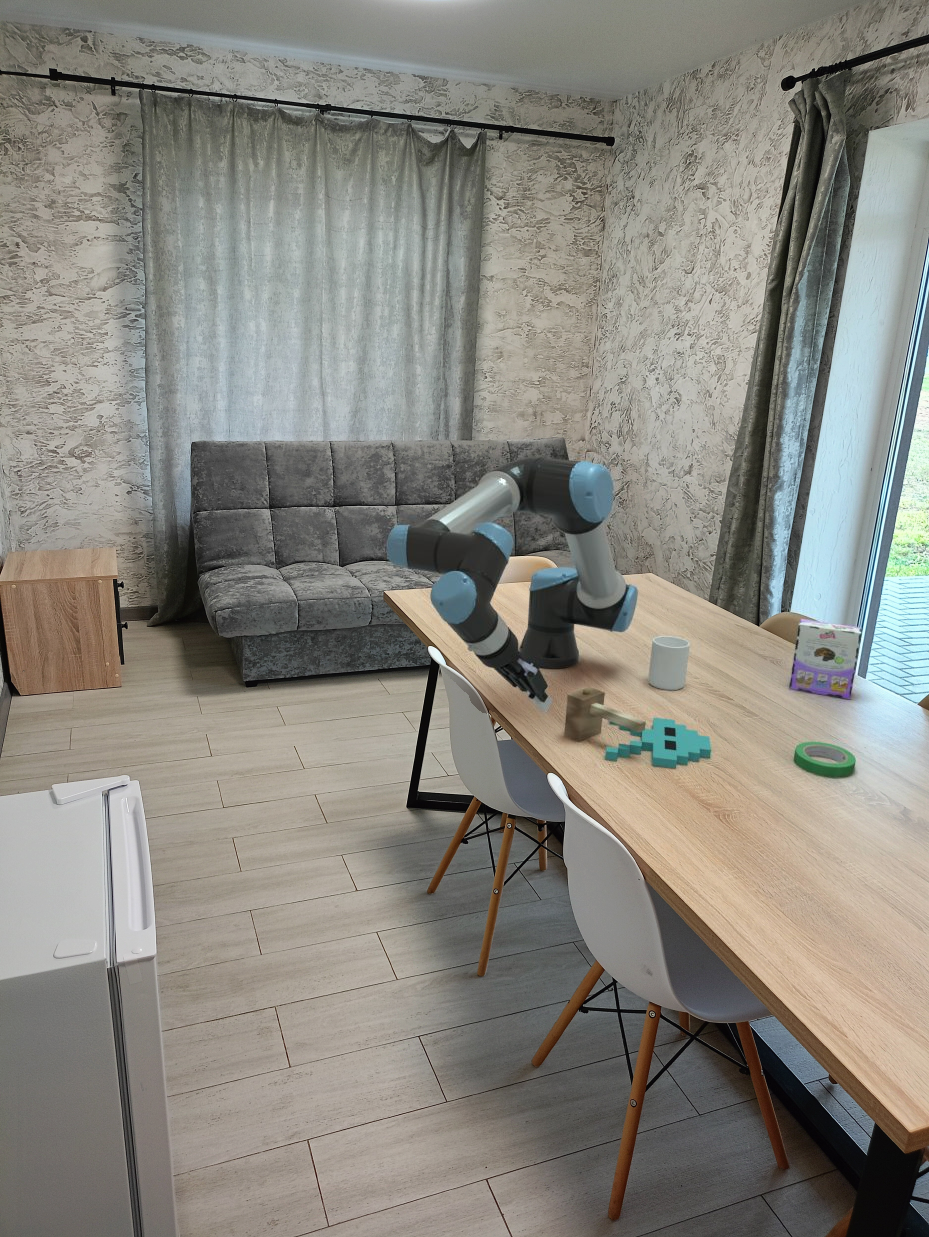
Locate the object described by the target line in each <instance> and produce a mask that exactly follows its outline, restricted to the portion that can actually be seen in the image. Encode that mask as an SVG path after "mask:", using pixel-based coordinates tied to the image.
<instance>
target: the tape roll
mask: <svg viewBox="0 0 929 1237" xmlns="http://www.w3.org/2000/svg"><path fill="white" fill-rule="evenodd" d="M813 757H820V758H821V757H822V758H828V759H831V760H833V761H836V762H826V761H822V760H818V759H815V758H813ZM856 761H857V760H856V756H855V755H854V754H853V753H851V752H850V751H849V750H848V749H846V748H843V747H840V746H838V745H835V744H832V743H827V742H822V741H821V742H820V741H805V742H801V743H798V744H797V745H796V746H795V749H794V755H793V763H794V764H795V765H796V766H797V767H798V768H800V769H801V770H803V771H806V772H808V773H810V774H812V775H816V776H820V777H826V778H832V779H833V778H834V779H835V778H845V777H850V776H851V775H853V774H854V771H855V767H856V763H857V762H856Z"/></svg>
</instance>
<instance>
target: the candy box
mask: <svg viewBox="0 0 929 1237" xmlns="http://www.w3.org/2000/svg"><path fill="white" fill-rule="evenodd" d="M862 629H863V628H862V627H861V626H854V625H846V624H840V623H832V622H825V621H818V620H812V619H805V618H800V621H799V623H798V626H797V633H796V634H797V635H796V641H795V647H794V652H793V653H794V655H793V660H792V665H791V666H792V667H791V674H790V680H789V686H788V689H789V690H793V691H801V692H805V693H811V694H818V695H822V696H828V697H835V698H839V699H840V698H841V699H846V700H850V699H851V698H852V690H853V687H854V686H853V685H854V680H855V675H856V669H857V665H858V664H857V663H858V658H859V653H860V644H861V638H862Z"/></svg>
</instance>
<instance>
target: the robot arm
mask: <svg viewBox="0 0 929 1237" xmlns="http://www.w3.org/2000/svg"><path fill="white" fill-rule="evenodd" d="M614 487H615V486H614V482H613V478H612V475H611V473H610V470H609V469H607V468H606V466H604V465H603V464H599V463H594V462H591V461H587V460H581V461H580V460H572V459H571V460H570V459H559V458H549V457H539V456H531V457H523V458H518V459H516V460H513V461H510V462H506V463H504V464H502V465H499V466H498V467H495V468H494V469H491V470H490V471H489V472H487V473H485V474H484V475H483V476H482V477H481V478H480V480H479V481H478V484H477V486H475V487H473V488H472V489H471V490H469V491H468V492H466V493H465V494H463V495H462V496H460V497H459V498H457V499H456V500H454V501H452V502H451V503H450V504H448V505H447V506H445V507H444V508H442V509H441V510H439V511H437V512H436V513H435V514H433V515H431V517H428V518H427V519H425V520H424V521H423V522H421V523H420V524H418V525H416V526H415V525H414V526H413V525H411V524H406V525H405V524H397V525H396V526H394V527H393V528H392V529H391V530H390V532H389V534H388V537H387V540H386V546H385V548H386V556H387V558H388V561H389V562H390V563H391V564H392V565H394V566H397V567H401V568H405V569H407V570H413V571H414V570H415V571H416V570H417V571H422V572H427V573H428V572H429V573H434V574H441V576H439V580H438V581H436V582H434V584H433V585H432V587H431V590H430V596H429V598H430V602H431V604H432V606H433V608H434V610H436V612H437V613H438V615H439V616H440V618H441V619H442V620H443V621H444V622H445V623H446V624H448V626H449V627H450V628H451V629H452V631H453V632H455V634H456V635H457V636H459V638H460V639H461V640H462V642H464V643H465V644H466V646H467V650H468V651H469V652H473V653H474V655H475V656H476V658H478V660H479V661H480V662H481V663H482V664H483V665H484V666H485V667H488V668H492V669H493V670H495V672H497V673H498V674H499V675H500V676H501V678H503V679H504V680H505V681H507V682H508V683H509V684H510V685H511V686H512V687H513V688H518V689H519V691H521V692H522V693H523V692H524V693H525V694H526V696H527V697H528V699H530V700H531V702H533V704H534V705H535V706H536V707H537V709H538V710H539V711H540V712H543V713H545V714H547V712H548V711H549V709H550V707H551V706H552V704H553V702H554V700H553V699H552V698H551V697H550V695H549V694H548V693H547V691H546V690H547V689H548V687H549V685H548V683H547V681H546V680H545V677H544V676H543V674H542V672H541V670H540V668H542V669H543V668H544V669H545V668H546V669H564V668H570V667H573V666H575V665H577V664H578V663H579V660H580V659H579V658H580V651H579V648H578V644H577V640H576V635H575V625H577V626H582V627H588V628H594V629H599V630H604V631H609V632H610V633H612V632H616V633H625V632H626V631H627V630H628V629H629V627H630V626H631V623H632V620H633V618H634V614H635V610H636V608H637V602H638V598H639V597H638V596H639V595H638V593H639V590H638V587H637V586H635V585H632V584H627V583H626V579H625V578H624V576H623V575H622V574H621V573H620V572H619V571H618V570H616V567H615V563H614V559H613V554H612V552H611V546H610V544H609V539H608V535H607V532H606V527H605V524H604V522H605V520H606V519H607V518H608V517H609V515H610V514H611V511H612V507H613V505H614V492H613V491H614ZM514 513H528V514H535V515H544V516H550V517H551V519H552V521H553V524H554V527H555V528H556V529H557V530H559V531H560V532H561V533H563V534H564V535H565V540H566V542H567V545H568V548H569V552H570V555H571V558H572V562H573V564H574V567H575V568H574V567H565V566H563V567H549V568H544V569H543V568H542V569H538V570H537V571H535V572H534V573H533V574H532V575H531V578H530V585H529V589H528V590H529V597H528V615H527V616H528V617H527V628H526V631H525V633H524V635H523V639H522V641H521V643H520V645H519V640H518V637H517V636H516V635H515V633H514V632H513V631H512V630H511V628H510V627H509V626H508V625H507V623H506V622H505V620H504V619H503V617H502V616H501V615H500V614H499V613H498V611H497V610H496V609H495V608H494V607H493V606H492V604H491V601H492V599H493V597H494V594H495V592H496V589H497V587H498V585H499V584H500V583H499V582H500V581H501V578H502V576H503V574H504V571H505V570H506V567H507V566H508V565H509V561H510V557H511V555H512V552H513V548H514V546H515V545H514V544H515V543H514V538H513V536H512V535H511V533H510V532H509V531H508V530H507V529H506V528H504V527H503V526H501V525H499V524H496V523H494V521H495V520H497V519H499V518H500V517H501V518H503V517H508V516H511V515H512V514H514Z"/></svg>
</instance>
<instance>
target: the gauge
mask: <svg viewBox="0 0 929 1237" xmlns="http://www.w3.org/2000/svg"><path fill="white" fill-rule="evenodd" d="M605 692H606V691H605ZM605 692H604V691H602V690H599V689H596V688H594V687H591V686H587V687H584V688H582V689H579V690H575V691H573V692H570V693H568V694H567V698H566V710H565V722H564V732H563V736H564V737H566V738H569V739H571V740H574V741H576V742H579V743H581V742H583V741H585V740H588V739H590V738H593V737H596V736H597V735H600V734H602V726H603V719H604V720H606V721H609V722H610V721H611V722H614V723H616V724H619V725H618V726H620V725H621V726H624V727H626V728H629V729H632V730H634V731H637V732H639V733H640V732H642V731H644V730H645V729H646V722H647V721H645V720H643V719H641V718H638V717H635V716H632V715H630V714H628V713H624V712H621V711H620V710H619V711H618V710H616V709H614V708H611V707H608V706H607V705H605V696H606V695H605V694H606V693H605Z"/></svg>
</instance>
